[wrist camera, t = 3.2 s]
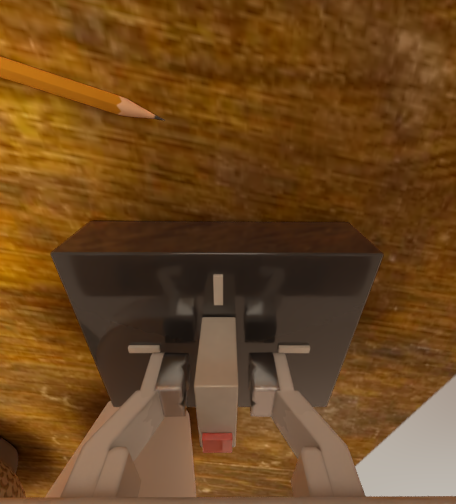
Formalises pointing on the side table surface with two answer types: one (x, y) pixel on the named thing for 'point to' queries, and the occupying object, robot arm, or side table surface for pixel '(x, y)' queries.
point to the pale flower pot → (151, 459)
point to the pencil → (71, 89)
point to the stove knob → (217, 384)
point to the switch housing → (218, 295)
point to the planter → (9, 472)
